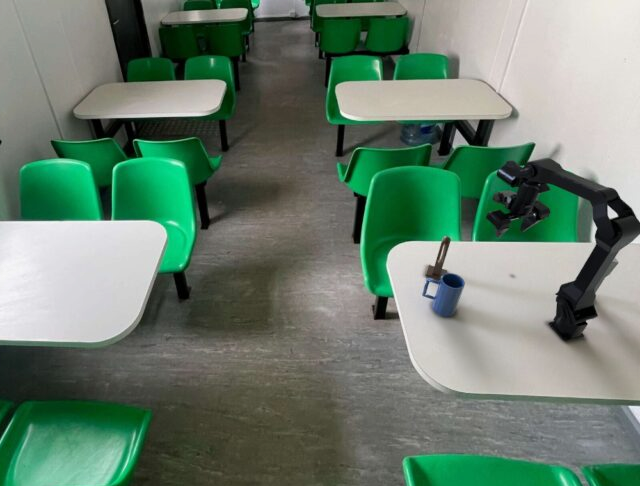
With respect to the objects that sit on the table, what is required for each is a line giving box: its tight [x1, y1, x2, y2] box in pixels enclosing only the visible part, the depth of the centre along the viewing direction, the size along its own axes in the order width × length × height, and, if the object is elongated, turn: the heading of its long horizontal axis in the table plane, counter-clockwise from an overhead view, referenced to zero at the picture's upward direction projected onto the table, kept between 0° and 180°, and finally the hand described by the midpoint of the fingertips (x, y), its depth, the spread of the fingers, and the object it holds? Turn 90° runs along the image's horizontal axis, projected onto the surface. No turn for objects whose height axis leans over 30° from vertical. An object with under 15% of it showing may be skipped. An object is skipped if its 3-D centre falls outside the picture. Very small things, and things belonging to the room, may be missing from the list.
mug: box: [421, 272, 466, 318], centre depth 128 cm, size 10×6×12 cm, turn 61°
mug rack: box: [425, 235, 452, 281], centre depth 135 cm, size 6×14×17 cm, turn 151°
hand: (509, 234), depth 136 cm, fingers open, 9 cm apart
